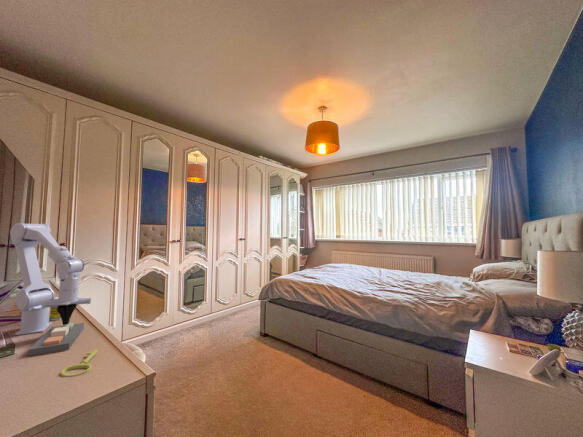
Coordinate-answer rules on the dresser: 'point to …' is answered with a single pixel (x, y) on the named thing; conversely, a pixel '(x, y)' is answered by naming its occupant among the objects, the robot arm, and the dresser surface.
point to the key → (80, 365)
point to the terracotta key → (53, 340)
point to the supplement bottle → (54, 312)
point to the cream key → (60, 331)
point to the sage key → (67, 325)
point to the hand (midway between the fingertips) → (65, 323)
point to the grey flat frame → (62, 346)
